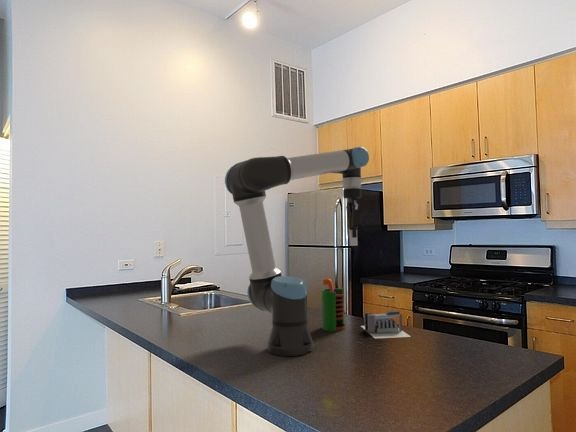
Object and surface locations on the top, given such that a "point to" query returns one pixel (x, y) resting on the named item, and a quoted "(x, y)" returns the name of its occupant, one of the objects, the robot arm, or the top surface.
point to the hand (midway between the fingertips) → (353, 245)
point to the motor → (332, 307)
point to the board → (393, 335)
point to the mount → (371, 323)
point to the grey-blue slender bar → (387, 314)
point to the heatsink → (385, 326)
